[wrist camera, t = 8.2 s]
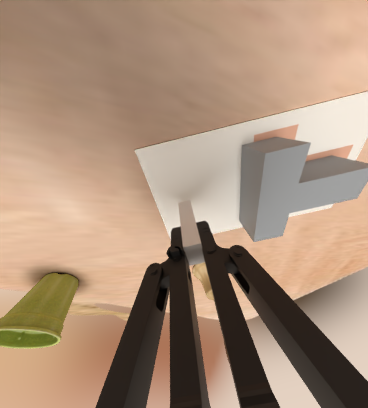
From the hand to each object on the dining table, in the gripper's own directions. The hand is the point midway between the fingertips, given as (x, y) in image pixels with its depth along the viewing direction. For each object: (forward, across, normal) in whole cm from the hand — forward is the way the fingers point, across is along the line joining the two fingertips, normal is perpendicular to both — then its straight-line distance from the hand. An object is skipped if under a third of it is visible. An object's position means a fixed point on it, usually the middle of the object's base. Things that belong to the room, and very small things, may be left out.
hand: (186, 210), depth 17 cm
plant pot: (+3, -28, -12) cm, 31 cm away
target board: (+3, +10, 0) cm, 10 cm away
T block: (+3, +14, -1) cm, 14 cm away
